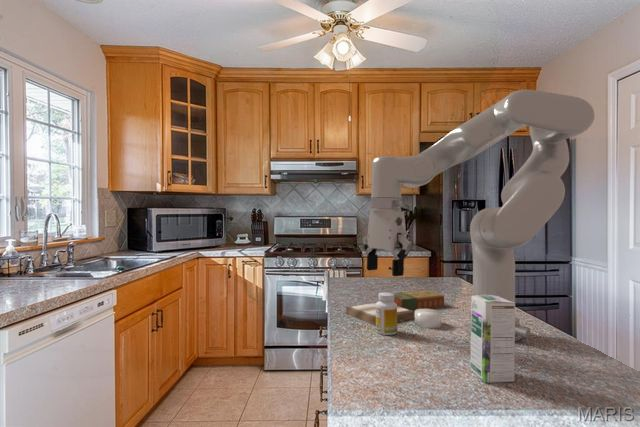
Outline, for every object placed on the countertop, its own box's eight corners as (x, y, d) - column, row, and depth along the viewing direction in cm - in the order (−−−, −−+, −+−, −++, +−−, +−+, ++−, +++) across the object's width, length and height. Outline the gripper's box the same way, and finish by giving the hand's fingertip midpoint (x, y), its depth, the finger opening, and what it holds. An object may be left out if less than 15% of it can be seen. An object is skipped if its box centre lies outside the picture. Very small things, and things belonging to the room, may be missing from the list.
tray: (414, 318, 104) (414, 310, 104) (376, 326, 97) (376, 317, 97) (382, 307, 116) (381, 300, 116) (346, 313, 108) (346, 306, 108)
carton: (444, 307, 117) (444, 294, 117) (401, 312, 111) (401, 298, 111) (428, 301, 125) (428, 289, 125) (387, 305, 119) (387, 292, 119)
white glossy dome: (447, 326, 97) (447, 313, 97) (428, 330, 93) (428, 317, 93) (427, 319, 103) (427, 307, 103) (409, 323, 99) (409, 310, 99)
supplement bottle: (400, 331, 93) (400, 293, 93) (392, 337, 88) (392, 297, 88) (381, 327, 95) (380, 290, 95) (372, 333, 91) (372, 294, 91)
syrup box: (469, 369, 70) (469, 294, 70) (498, 368, 70) (498, 294, 70) (484, 383, 64) (484, 302, 64) (516, 382, 64) (516, 301, 64)
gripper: (422, 205, 86) (420, 277, 86) (375, 206, 101) (373, 267, 101) (398, 204, 82) (397, 279, 82) (353, 205, 97) (352, 268, 97)
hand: (384, 272), depth 92 cm, fingers open, 9 cm apart
